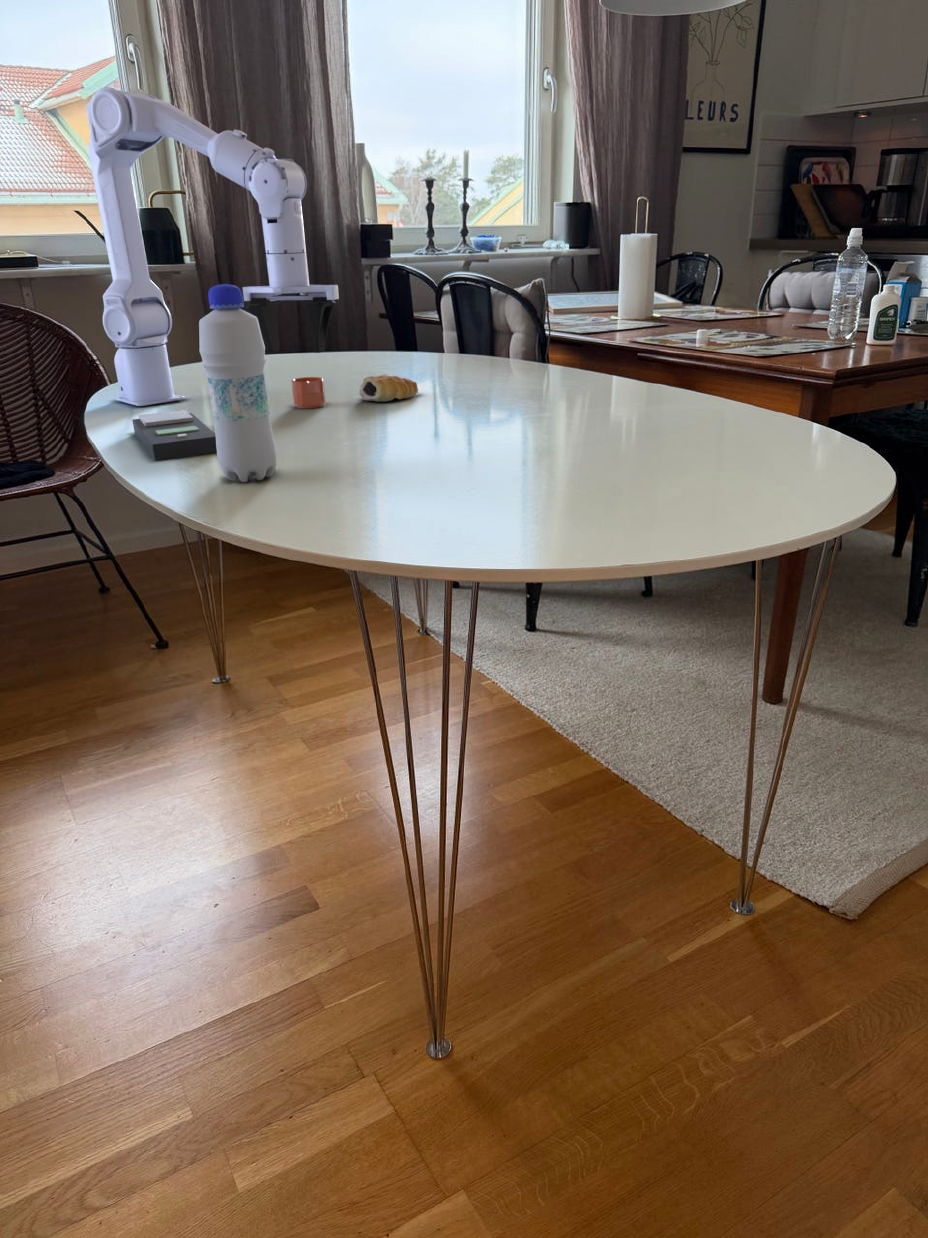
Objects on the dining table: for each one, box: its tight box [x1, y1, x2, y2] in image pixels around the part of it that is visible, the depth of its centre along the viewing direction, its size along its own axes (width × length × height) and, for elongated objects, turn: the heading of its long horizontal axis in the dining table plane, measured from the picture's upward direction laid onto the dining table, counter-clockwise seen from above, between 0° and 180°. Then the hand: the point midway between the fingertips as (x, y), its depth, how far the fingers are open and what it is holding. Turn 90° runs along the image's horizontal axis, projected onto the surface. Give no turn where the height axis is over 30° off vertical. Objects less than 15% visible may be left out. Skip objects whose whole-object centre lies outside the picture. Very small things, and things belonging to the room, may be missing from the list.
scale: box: [131, 409, 217, 462], centre depth 112 cm, size 18×8×2 cm, turn 27°
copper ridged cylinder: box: [291, 376, 327, 409], centre depth 132 cm, size 5×5×4 cm
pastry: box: [359, 374, 419, 403], centre depth 136 cm, size 9×7×4 cm
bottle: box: [198, 283, 277, 483], centre depth 91 cm, size 7×7×20 cm
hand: (296, 351), depth 128 cm, fingers open, 7 cm apart
